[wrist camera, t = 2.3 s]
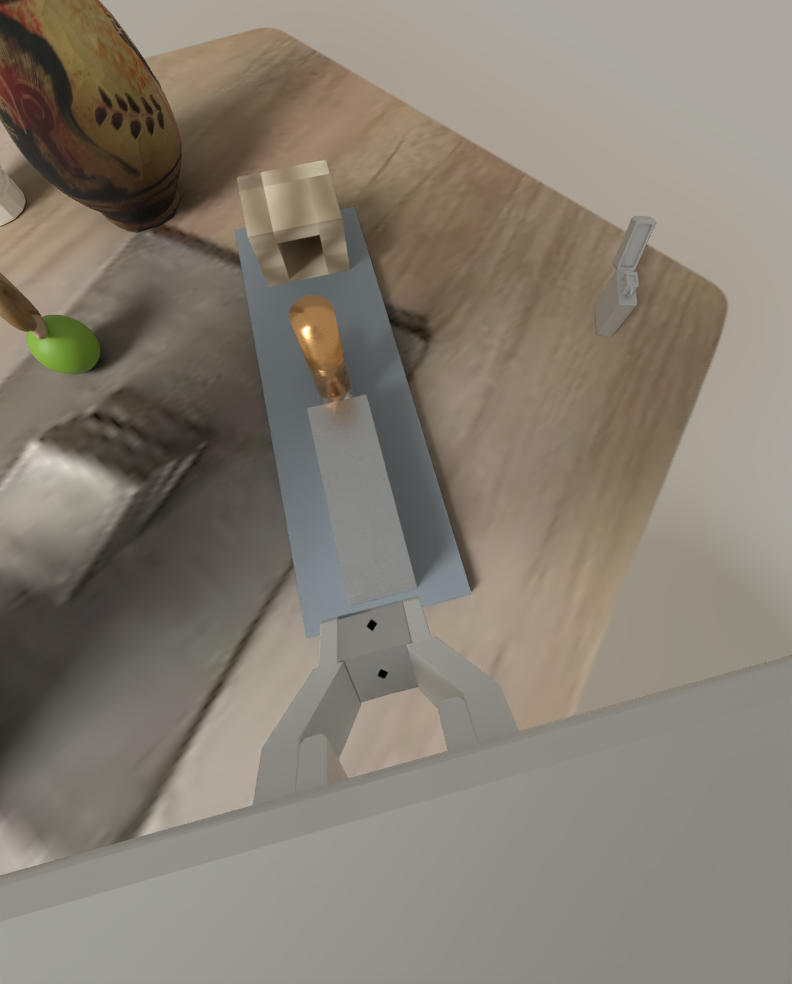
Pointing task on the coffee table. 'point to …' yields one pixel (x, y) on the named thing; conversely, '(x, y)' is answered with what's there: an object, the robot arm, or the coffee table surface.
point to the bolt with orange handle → (322, 347)
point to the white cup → (9, 199)
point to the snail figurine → (50, 333)
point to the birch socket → (294, 222)
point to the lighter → (623, 278)
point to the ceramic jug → (88, 110)
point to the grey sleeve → (360, 502)
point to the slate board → (392, 415)
